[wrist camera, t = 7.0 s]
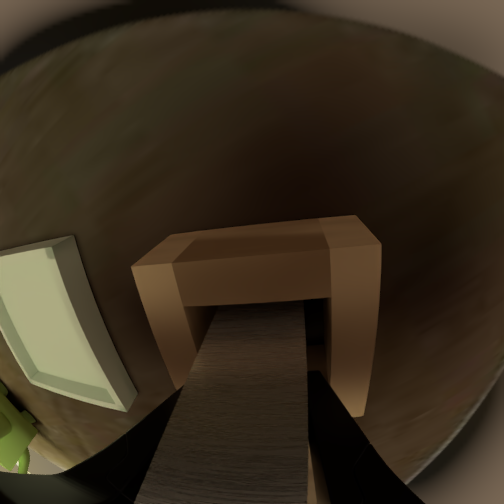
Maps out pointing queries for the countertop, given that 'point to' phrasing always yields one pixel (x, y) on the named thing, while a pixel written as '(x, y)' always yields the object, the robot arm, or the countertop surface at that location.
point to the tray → (59, 325)
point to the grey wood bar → (239, 414)
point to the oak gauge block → (269, 291)
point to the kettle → (14, 434)
